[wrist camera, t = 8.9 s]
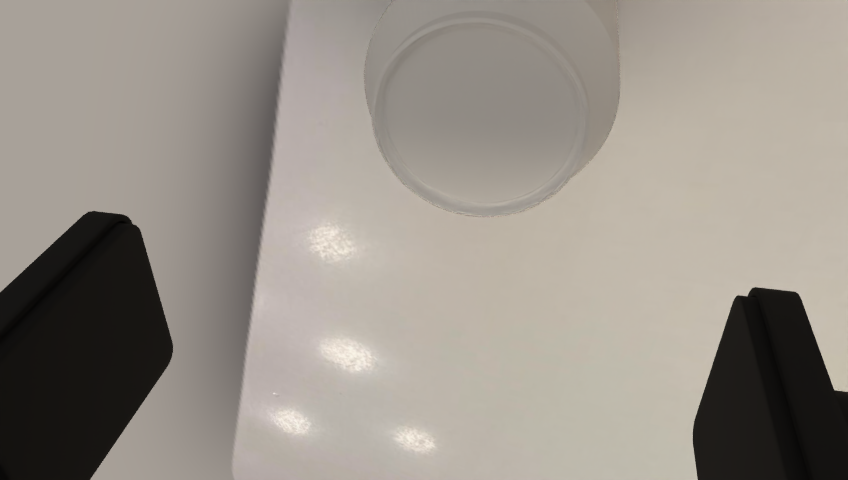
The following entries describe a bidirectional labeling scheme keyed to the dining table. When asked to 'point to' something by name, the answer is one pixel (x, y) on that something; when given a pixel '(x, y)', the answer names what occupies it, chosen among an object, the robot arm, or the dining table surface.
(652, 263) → the dining table surface
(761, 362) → the robot arm
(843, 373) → the dining table surface
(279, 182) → the dining table surface
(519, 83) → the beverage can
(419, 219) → the dining table surface
